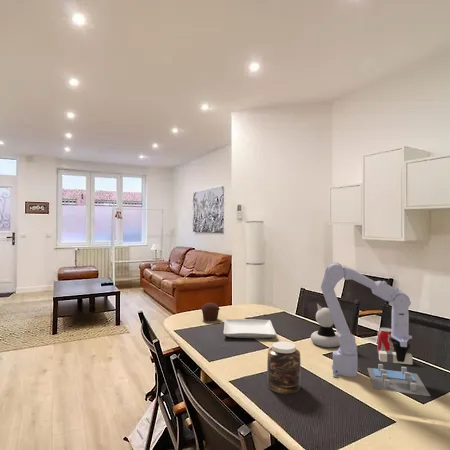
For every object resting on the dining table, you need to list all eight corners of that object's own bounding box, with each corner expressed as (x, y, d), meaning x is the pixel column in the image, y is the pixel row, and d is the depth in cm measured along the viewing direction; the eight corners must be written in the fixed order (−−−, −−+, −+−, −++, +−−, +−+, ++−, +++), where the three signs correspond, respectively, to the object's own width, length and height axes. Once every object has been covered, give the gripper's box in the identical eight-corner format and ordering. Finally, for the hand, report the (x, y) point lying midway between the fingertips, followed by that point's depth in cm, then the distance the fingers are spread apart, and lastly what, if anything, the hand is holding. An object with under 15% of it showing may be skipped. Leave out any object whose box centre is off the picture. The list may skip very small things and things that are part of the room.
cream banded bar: (380, 361, 126) (379, 353, 126) (378, 358, 129) (378, 350, 129) (412, 364, 123) (412, 356, 123) (410, 361, 126) (410, 353, 126)
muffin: (223, 318, 208) (223, 302, 208) (213, 323, 199) (213, 306, 199) (207, 315, 214) (207, 300, 215) (197, 319, 205) (197, 303, 205)
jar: (277, 376, 129) (278, 337, 129) (305, 385, 122) (305, 344, 122) (261, 387, 120) (261, 346, 120) (290, 398, 113) (290, 354, 113)
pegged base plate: (373, 391, 118) (373, 381, 118) (367, 370, 135) (367, 361, 135) (430, 399, 113) (430, 388, 113) (416, 376, 130) (416, 367, 130)
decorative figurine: (343, 341, 169) (343, 302, 169) (340, 350, 156) (340, 308, 156) (313, 336, 175) (313, 299, 175) (308, 345, 162) (308, 305, 162)
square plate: (276, 341, 169) (276, 333, 169) (223, 340, 170) (223, 332, 170) (270, 325, 197) (270, 318, 197) (224, 324, 197) (224, 318, 197)
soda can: (385, 359, 146) (385, 332, 146) (373, 353, 153) (374, 327, 153) (398, 357, 148) (398, 331, 148) (386, 352, 155) (386, 326, 155)
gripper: (416, 330, 117) (416, 368, 117) (407, 319, 131) (407, 353, 131) (394, 328, 119) (394, 366, 119) (387, 317, 133) (387, 351, 133)
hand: (399, 359), depth 125 cm, fingers closed on cream banded bar, 3 cm apart
